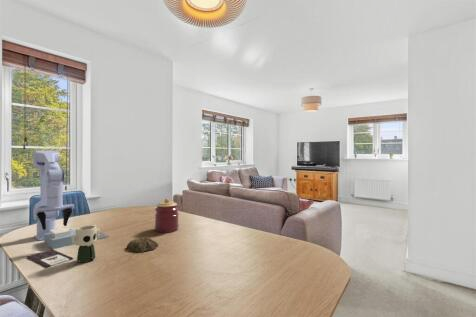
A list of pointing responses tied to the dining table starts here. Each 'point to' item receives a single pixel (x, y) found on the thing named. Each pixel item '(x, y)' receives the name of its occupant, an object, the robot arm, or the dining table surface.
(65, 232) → the tile
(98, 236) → the mat
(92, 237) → the character mug
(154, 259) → the dining table surface
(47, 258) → the chocolate bar
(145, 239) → the mossy rock
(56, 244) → the plate
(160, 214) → the canister
